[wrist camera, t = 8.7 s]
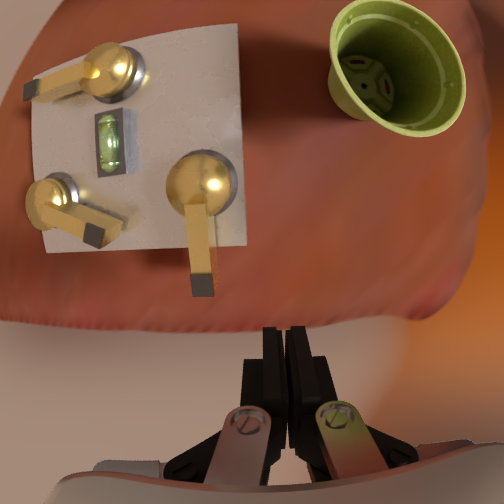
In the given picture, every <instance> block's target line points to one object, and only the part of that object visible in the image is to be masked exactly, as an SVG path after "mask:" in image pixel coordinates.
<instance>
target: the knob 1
mask: <svg viewBox="0 0 504 504" xmlns="http://www.w3.org/2000/svg"><path fill="white" fill-rule="evenodd" d="M25 206H26V212H27V216H28V218H29V220H30V222H31V223H32V225H33V226H34V227H35V228H37V229H38V230H41V231H48V230H50V229H52V228H55V227H57V228H59V229H61V230H63V231H66V232H68V233H70V234H72V235H74V236H76V237H79V238H81V239H83V242H84V243H86V244H88V245H90V246H93V247H95V248H97V249H101V248H103V247H105V246H106V245H108V244H109V243H111V242H112V241H114V240H115V239H117V238H118V237H120V232H121V228H122V224H123V221H122V220H119V219H117V218H114V217H112V216H109V215H106V214H104V213H101V212H99V211H96V210H94V209H92V208H89V207H87V206H84V205H82V204H79V203H77V202H74V201H72V195H71V191H70V189H69V187H68V185H67V184H66V183H65V182H64V181H63V180H62V179H60V178H57V177H52V178H47V179H42V180H38V181H35V182H34V183H33V184H32V185H31V186H30V187H29V189H28V191H27V194H26V200H25Z"/></svg>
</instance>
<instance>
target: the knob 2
mask: <svg viewBox="0 0 504 504" xmlns="http://www.w3.org/2000/svg"><path fill="white" fill-rule="evenodd" d="M231 191H232V177H231V174H230V172H229V170H228V168H227V167H226V165H225V164H224V163H223V162H222V161H220V160H219V159H217V158H216V157H213V156H210V155H191V156H187V157H185V158H183V159H181V160H179V161H178V162H177V163H176V164H175V165H174V166H173V167H172V168H171V170H170V172H169V174H168V176H167V180H166V194H167V198H168V200H169V202H170V204H171V206H172V207H173V208H174V209H175V210H176V211H177V212H178V213H179V214H181V215H183V216H185V219H186V229H187V239H188V248H189V257H190V265H191V273H192V274H191V275H190V280H191V288H192V295H193V297H214V294H215V290H216V287H217V284H218V281H219V272H218V261H217V249H216V236H215V223H214V215H215V214H216V213H217V212H219V211H220V210H221V209H222V207H223V206H224V205H225V203H226V202H227V200H228V199H229V197H230V194H231Z"/></svg>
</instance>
